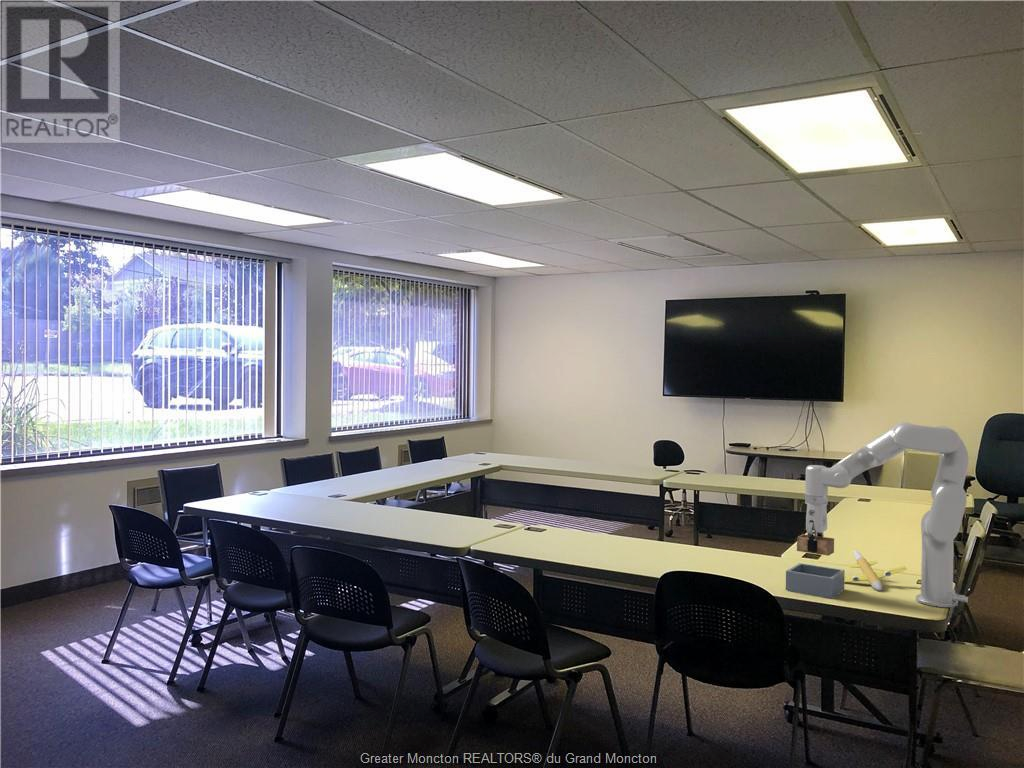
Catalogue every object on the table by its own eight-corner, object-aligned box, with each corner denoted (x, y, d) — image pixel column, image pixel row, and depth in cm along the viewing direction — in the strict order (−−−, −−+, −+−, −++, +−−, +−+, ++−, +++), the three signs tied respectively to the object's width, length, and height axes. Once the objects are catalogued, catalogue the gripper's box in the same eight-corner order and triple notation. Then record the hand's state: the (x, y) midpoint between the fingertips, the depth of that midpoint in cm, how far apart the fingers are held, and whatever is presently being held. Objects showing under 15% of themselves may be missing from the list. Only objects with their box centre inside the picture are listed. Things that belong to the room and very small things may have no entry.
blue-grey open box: (844, 589, 280) (844, 570, 279) (832, 598, 268) (832, 578, 268) (799, 581, 289) (799, 563, 289) (785, 590, 278) (785, 570, 278)
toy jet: (920, 596, 275) (891, 555, 304) (917, 578, 274) (887, 539, 303) (845, 610, 280) (823, 569, 309) (841, 592, 279) (820, 553, 307)
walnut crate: (833, 552, 278) (834, 538, 278) (828, 555, 272) (828, 541, 272) (802, 547, 284) (802, 534, 284) (796, 550, 279) (797, 537, 279)
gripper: (819, 504, 269) (818, 555, 269) (834, 498, 283) (833, 547, 283) (797, 501, 274) (796, 552, 274) (813, 495, 287) (812, 544, 288)
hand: (815, 549), depth 278 cm, fingers closed on walnut crate, 6 cm apart
